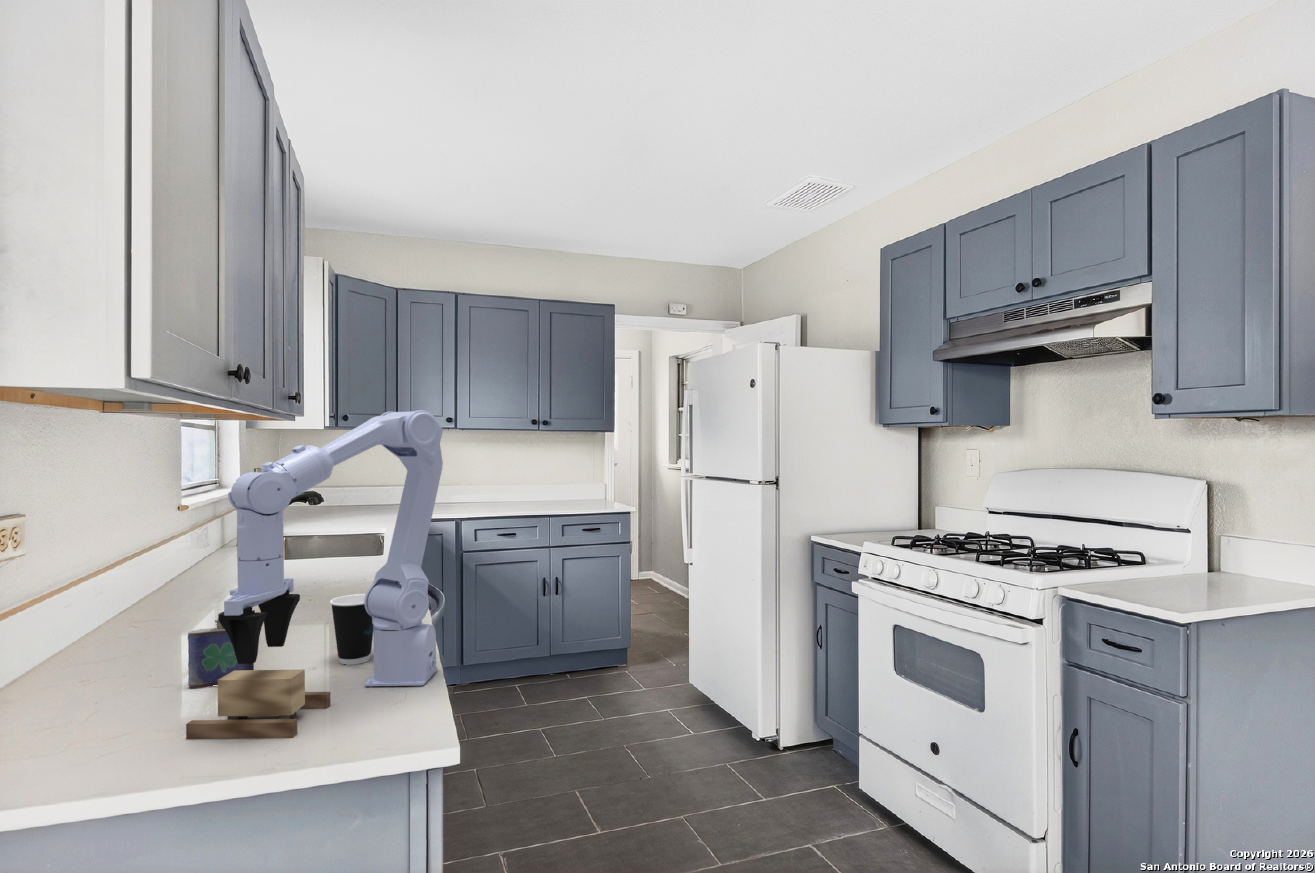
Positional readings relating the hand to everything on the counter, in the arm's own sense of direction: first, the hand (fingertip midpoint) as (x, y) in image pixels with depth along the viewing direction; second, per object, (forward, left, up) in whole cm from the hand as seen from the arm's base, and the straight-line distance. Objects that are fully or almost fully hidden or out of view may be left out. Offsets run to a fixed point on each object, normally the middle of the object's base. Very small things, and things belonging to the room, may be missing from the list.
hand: (261, 654), depth 101 cm
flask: (+15, -16, -10) cm, 24 cm away
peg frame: (0, 0, -9) cm, 9 cm away
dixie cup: (-2, -27, -10) cm, 29 cm away
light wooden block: (0, 0, -8) cm, 8 cm away
